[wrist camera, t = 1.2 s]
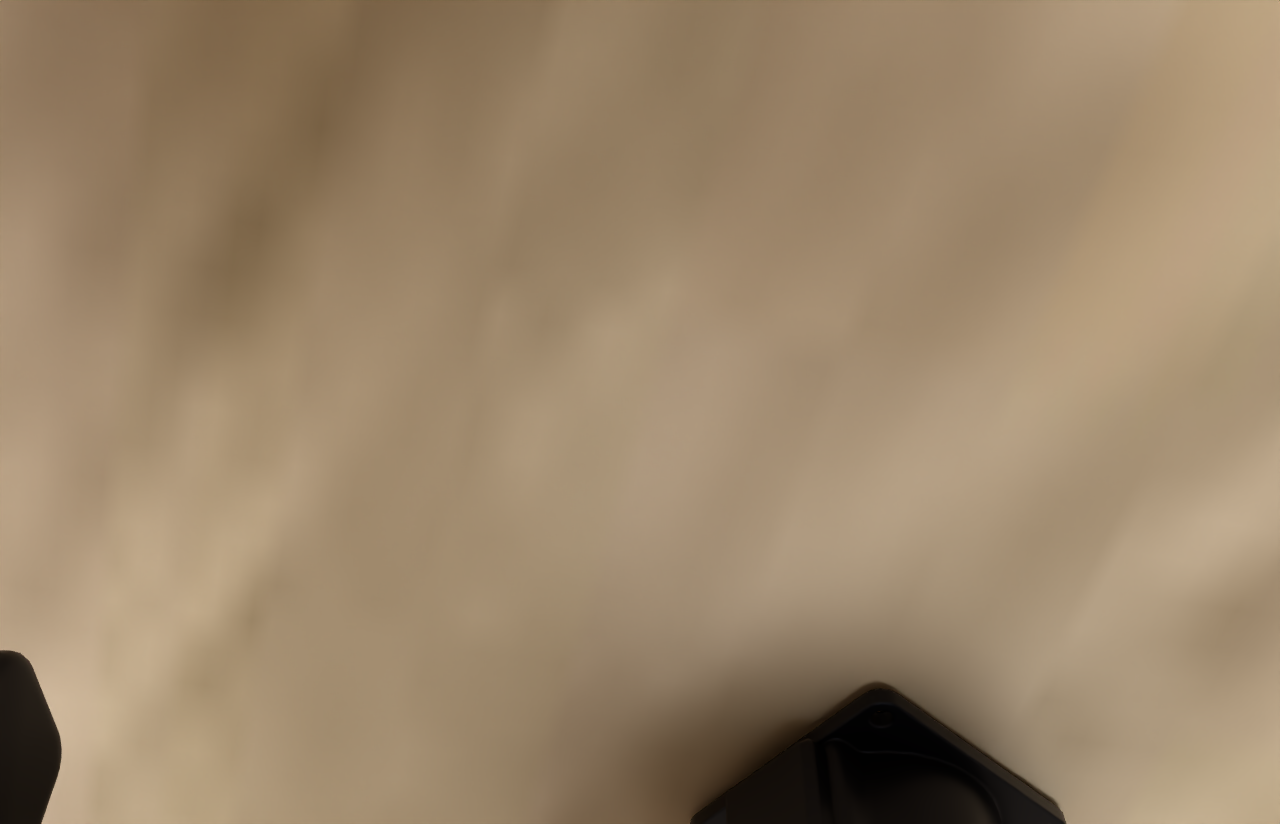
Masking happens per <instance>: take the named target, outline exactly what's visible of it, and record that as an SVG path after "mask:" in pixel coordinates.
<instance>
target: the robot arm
mask: <svg viewBox="0 0 1280 824" xmlns="http://www.w3.org/2000/svg"><path fill="white" fill-rule="evenodd" d="M877 711H886V712H884V713H875V712H877ZM61 750H62V748H61V740H60V735H59V732H58V729H57V727H56V724H55V722H54V719H53V717H52V714H51V712H50V709H49V707H48V704H47V702H46V699H45V697H44V694H43V692H42V689H41V687H40V684H39V682H38V679H37V677H36V674H35V672H34V669H33V667H32V665H31V663H30V662H29V660H28V659H26V658H25V657H24V656H23V655H22V654H21V653H18V652H14V651H8V650H0V824H41V822H42V820H43V817H44V814H45V811H46V808H47V805H48V802H49V799H50V796H51V794H52V791H53V788H54V785H55V782H56V779H57V776H58V772H59V769H60V763H61ZM690 824H1066V821H1065V818H1064V815H1063V812H1062V811H1061V810H1060V809H1059V808H1058V807H1057V806H1055V805H1054V804H1052V803H1051V802H1050V801H1048V800H1047V799H1045V798H1044V797H1042V796H1041V795H1040V794H1038V793H1037V792H1035V791H1034V790H1033V789H1031V788H1030V787H1028V786H1027V785H1026V784H1024V783H1023V782H1021V781H1020V780H1018V779H1017V778H1016V777H1014V776H1013V775H1011V774H1010V773H1009V772H1007V771H1006V770H1004V769H1003V768H1001V767H1000V766H999V765H997V764H996V763H994V762H993V761H992V760H990V759H989V758H987V757H986V756H985V755H983V754H982V753H980V752H979V751H977V750H976V749H975V748H973V747H972V746H970V745H969V744H968V743H966V742H965V741H963V740H962V739H961V738H959V737H958V736H956V735H955V734H953V733H952V732H951V731H949V730H948V729H946V728H945V727H944V726H942V725H941V724H939V723H938V722H937V721H935V720H934V719H932V718H931V717H929V716H928V715H927V714H925V713H924V712H922V711H921V710H920V709H918V708H917V707H915V706H914V705H913V704H911V703H910V702H908V701H907V700H905V699H904V698H903V697H901V696H900V695H898V694H897V693H895V692H893V691H891V690H887V689H876V690H871V691H869V692H867V693H865V694H863V695H862V696H860V697H859V698H857V699H856V700H855V701H853V702H852V703H850V704H849V705H848V706H846V707H845V708H843V709H842V710H841V711H839V712H838V713H836V714H835V715H834V716H832V717H831V718H829V719H828V720H827V721H825V722H824V723H822V724H821V725H820V726H818V727H817V728H815V729H814V730H813V731H811V732H810V733H809V734H807V735H806V736H804V737H803V738H802V739H800V740H799V741H797V742H796V743H795V744H793V745H792V746H790V747H789V748H788V749H786V750H785V751H783V752H782V753H781V754H779V755H778V756H776V757H775V758H774V759H772V760H771V761H769V762H768V763H767V764H765V765H764V766H762V767H761V768H760V769H758V770H757V771H755V772H754V773H753V774H751V775H750V776H748V777H747V778H746V779H744V780H743V781H741V782H740V783H739V784H737V785H736V786H735V787H733V788H732V789H730V790H729V791H728V792H726V793H725V794H723V795H722V796H721V797H719V798H718V799H716V800H715V801H714V802H712V803H711V804H709V805H708V806H707V807H705V808H704V809H702V810H701V811H700V812H698V813H697V814H695V815H694V817H693V818H692V819H691V822H690Z"/></svg>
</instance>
